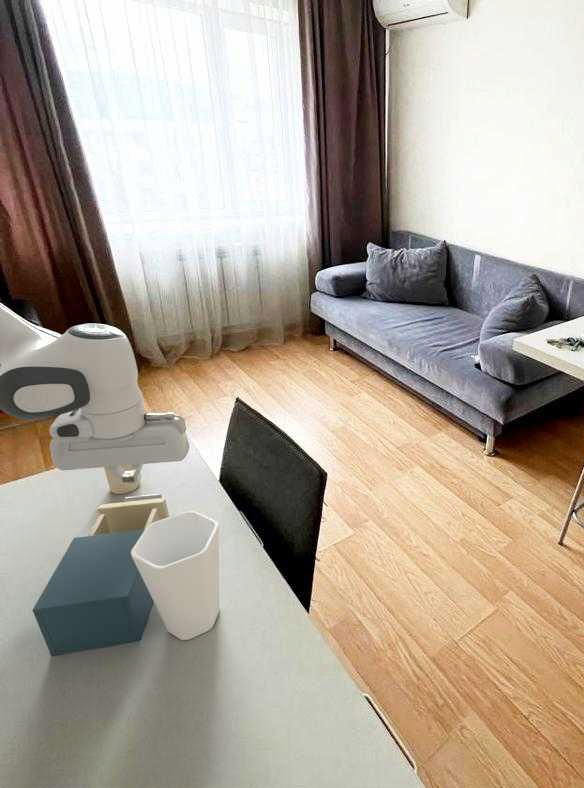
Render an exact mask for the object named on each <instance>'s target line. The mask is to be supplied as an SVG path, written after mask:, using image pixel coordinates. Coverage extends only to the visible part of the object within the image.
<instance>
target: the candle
mask: <svg viewBox="0 0 584 788" xmlns="http://www.w3.org/2000/svg"><path fill="white" fill-rule="evenodd" d="M121 467H122V468H123V469H124V470H125V471H133V470H136V469H137V468H136V469H133V467H132V465H125V466H121ZM103 469H104V472H105V477H106V480H107V483H108V486H109V489H110V492H111V493H113V494H116V495H124V494H127V493H130V492H133V491H135V490H137V489H138V487H140V485H141V481H140V482H139V483H130V484H120V482H119V478H118V477H116V476H115V475H114V474H113V473H111V472H110V471H109V468H108V467H103ZM123 493H124V494H123Z"/></svg>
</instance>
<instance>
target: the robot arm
mask: <svg viewBox="0 0 584 788" xmlns="http://www.w3.org/2000/svg"><path fill="white" fill-rule="evenodd" d="M138 379H139V370H138V366H137V362H136V358H135V354H134V350H133V348H132V345H131V343H130V341H129V338H128V337H127V335H126V334H125V333H124V332H123V331H122V330H121V329H118V328H117V327H114V326H111V325H108V324H103V323H83V324H77V325H74V326H71V327H69V328H68V329H67V330H66V331H65V332H64V333H63V334H61V333H58V332H56V331H53V330H50V329H48V328H44V327H41V326H38V325H36V324H34V323H31V322H30V321H28V320H26V319H25V318H23V317H22V316H20V315H18V314H17V313H16V312H14V311H13V310H12V309H10V308H9V307H7V306H6V305H4V304H3V303H1V302H0V410H1V412H3V413H5V414H6V415H8V416H10V417H13V418H15V419H19V420H25V421H41V420H46V419H50V418H53V417H57V418H55V420H54V421H53V422H52V424H51V425H50V427H49V429H48V432H49V435H50V437H52V439H51V440H50V443H49V450H50V456H51V461H52V463H53V466H54V467H55V468H56V469H58V470H60V471H74V470H87V469H98V468H104V467H108V468H109V471H110V472H111V473H113V474H114V475H115V476H116V477H118V478H119V482H120V484H130V483H139V482H140V483H141V480H142V474H141V471H142V469H143V467H144V465H147V464H150V465H151V464H161V463H172V462H181V461H183V460H184V459H185V458H186V457H187V455H188V453H189V450H190V444H189V439H188V436H187V432H186V430H187V425H186V420H185V418H184V417H182V416H181V415H178V414H175V412H165V413H147V410H146V405H145V400H144V399H145V398H144V394H143V392H142V390H141V389H140V387H139V384H138ZM125 465H132V467H133V469H136V468H137V469H136V470H133V471H125V470H124V469H123V468H122V467H121V466H125Z"/></svg>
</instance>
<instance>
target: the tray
mask: <svg viewBox="0 0 584 788" xmlns="http://www.w3.org/2000/svg"><path fill="white" fill-rule="evenodd" d="M167 505H168V504H167V501H166V498H165V497H162V494H161V493H152V494H143V495H134V496H125V497H124V498H123V501H122V502H112V503H102V504H100V505H98V507H97V511H98V517H97V519H96V521H95V523H94V524H93V525H92V526H93V527H92V528H91V530H90V532H89V533H88V535H87V536H93V535H101V534H110V533H118V532H127V531H135V530H143V529H146V527H147V526H148V525H150V524H151V523H153V522H156V521H159V520H162V519H165V518H168V517H170V514H169V509H168V506H167Z"/></svg>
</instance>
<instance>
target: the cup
mask: <svg viewBox="0 0 584 788" xmlns="http://www.w3.org/2000/svg"><path fill="white" fill-rule="evenodd" d="M219 530H220V525H219V523H218V521H217V520H216V519H215V520H214V519H213V518H210V517H209V516H206V515H204V514H202V513H200V512H198V511H196V510H187V511H184V512H181V513H178V514H175V515H171V516H169V517H168V518H165V519H162V520H159V521H156V522H153V523H151V524H150V525H148V526H147V527H146V529H145V531H144V532H143V534H142V535H141V537H140V538H139V540H138V541H137V543H136V544H135V546H134V547H133V549H132V550H131V556H132V558H133V560H134V562H135V564H136V566H137V568H138V570H139V572H140V574H141V576H142V578H143V580H144V583H145V585H146V587H147V589H148V591H149V593H150V595H151V597H152V599H153V601H154V603H153V604H154V605H155V607H156V609H157V611H158V613H159V615H160V617H161V620H162V621H163V623H164V626H165V627H166V629H167V632H168V633H169V634H171V635H173V636H174V637H176V638H177V639H179V640H180V641H189V640H192V639H194V638H196V637H198V636H200V635H202V634H204V633H207V632H210V630H211V629H212V628H213V627H214V626H215V623H216V620H217V618H218V616H219V613H220V609H221V607H220V605H221V604H220V603H221V602H220V531H219Z"/></svg>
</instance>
